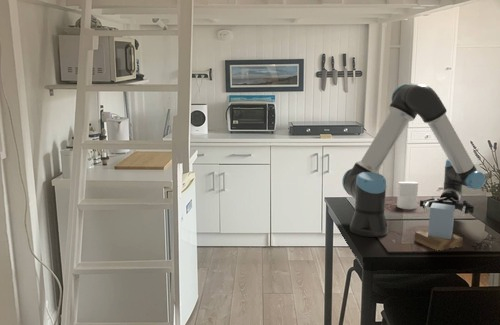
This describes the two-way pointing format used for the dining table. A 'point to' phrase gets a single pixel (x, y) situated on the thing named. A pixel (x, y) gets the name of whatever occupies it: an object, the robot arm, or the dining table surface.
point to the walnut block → (438, 241)
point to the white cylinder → (407, 195)
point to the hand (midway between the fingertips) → (443, 211)
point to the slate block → (441, 220)
